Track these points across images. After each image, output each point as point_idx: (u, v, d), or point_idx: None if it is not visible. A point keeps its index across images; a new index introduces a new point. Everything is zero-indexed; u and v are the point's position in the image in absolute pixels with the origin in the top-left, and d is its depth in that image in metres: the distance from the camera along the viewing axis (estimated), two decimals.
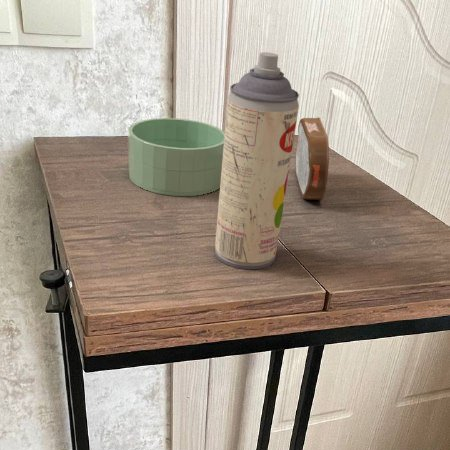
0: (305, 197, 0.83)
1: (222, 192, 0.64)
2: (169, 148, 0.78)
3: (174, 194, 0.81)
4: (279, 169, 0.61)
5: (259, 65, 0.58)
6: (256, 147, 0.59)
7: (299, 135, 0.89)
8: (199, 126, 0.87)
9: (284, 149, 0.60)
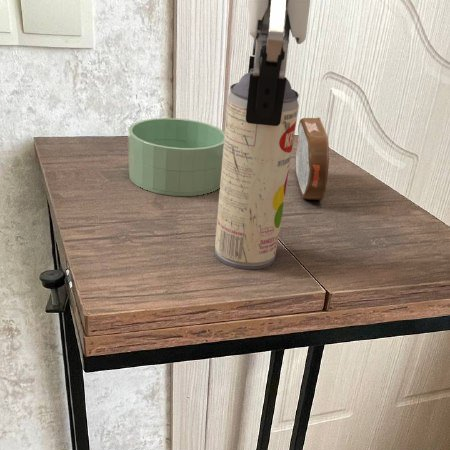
0: (305, 197, 0.83)
1: (221, 192, 0.64)
2: (169, 148, 0.78)
3: (174, 194, 0.81)
4: (279, 169, 0.61)
5: None
6: (256, 147, 0.59)
7: (299, 135, 0.89)
8: (199, 126, 0.87)
9: (284, 149, 0.60)
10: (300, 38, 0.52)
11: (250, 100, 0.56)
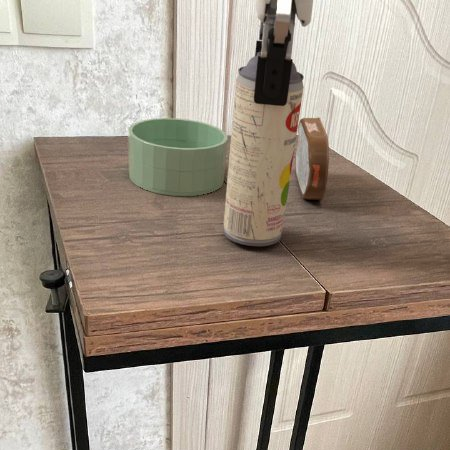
0: (305, 197, 0.83)
1: (230, 171, 0.67)
2: (169, 148, 0.78)
3: (174, 194, 0.81)
4: (285, 148, 0.64)
5: None
6: (264, 127, 0.62)
7: (299, 135, 0.89)
8: (199, 126, 0.87)
9: (290, 129, 0.63)
10: (305, 21, 0.55)
11: (258, 81, 0.59)
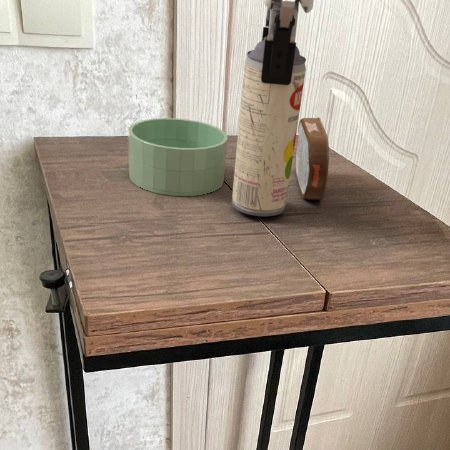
0: (305, 197, 0.83)
1: (239, 147, 0.74)
2: (169, 148, 0.78)
3: (174, 194, 0.81)
4: (289, 124, 0.71)
5: None
6: (270, 104, 0.69)
7: (299, 135, 0.89)
8: (199, 126, 0.87)
9: (294, 107, 0.70)
10: (308, 7, 0.62)
11: (265, 62, 0.66)
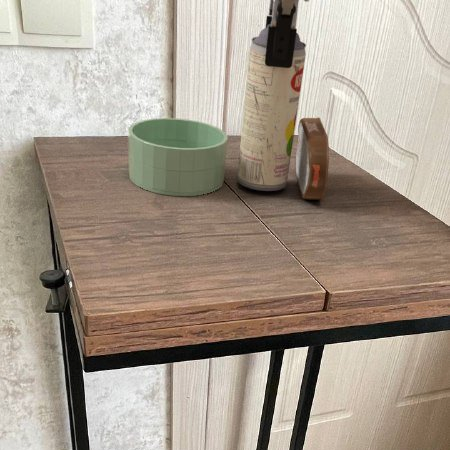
0: (305, 197, 0.83)
1: (244, 126, 0.80)
2: (169, 148, 0.78)
3: (174, 194, 0.81)
4: (290, 105, 0.77)
5: None
6: (273, 86, 0.75)
7: (299, 135, 0.89)
8: (199, 126, 0.87)
9: (294, 89, 0.77)
10: None
11: (268, 47, 0.72)
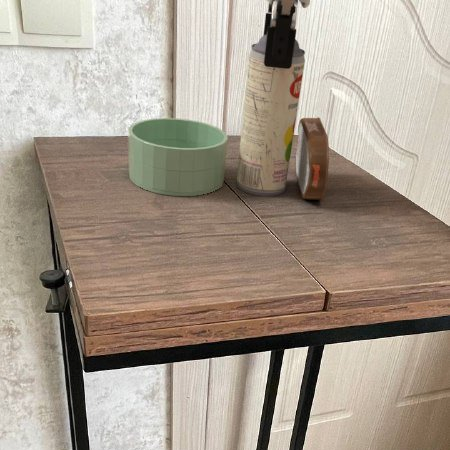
0: (305, 197, 0.83)
1: (243, 131, 0.81)
2: (169, 148, 0.78)
3: (174, 194, 0.81)
4: (289, 111, 0.78)
5: None
6: (272, 92, 0.76)
7: (299, 135, 0.89)
8: (199, 126, 0.87)
9: (293, 95, 0.77)
10: (305, 3, 0.69)
11: (268, 47, 0.71)
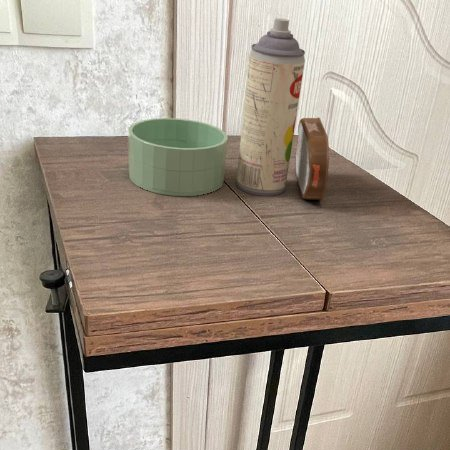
0: (305, 197, 0.83)
1: (243, 131, 0.81)
2: (169, 148, 0.78)
3: (174, 194, 0.81)
4: (289, 111, 0.78)
5: (274, 28, 0.74)
6: (272, 92, 0.76)
7: (299, 135, 0.89)
8: (199, 126, 0.87)
9: (293, 95, 0.77)
10: None
11: None
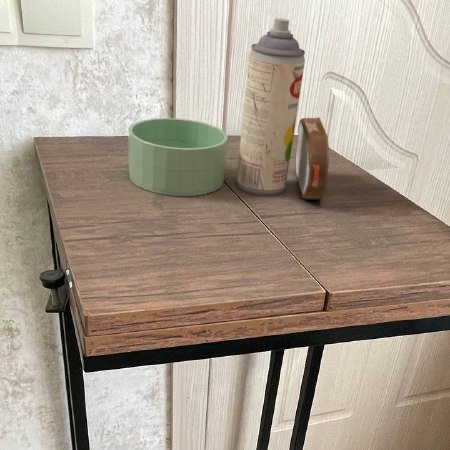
0: (305, 197, 0.83)
1: (243, 131, 0.81)
2: (169, 148, 0.78)
3: (174, 194, 0.81)
4: (289, 111, 0.78)
5: (274, 28, 0.74)
6: (272, 92, 0.76)
7: (299, 135, 0.89)
8: (199, 126, 0.87)
9: (293, 95, 0.77)
10: None
11: None
